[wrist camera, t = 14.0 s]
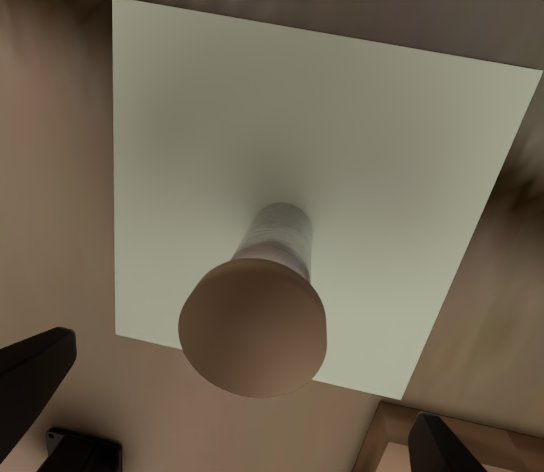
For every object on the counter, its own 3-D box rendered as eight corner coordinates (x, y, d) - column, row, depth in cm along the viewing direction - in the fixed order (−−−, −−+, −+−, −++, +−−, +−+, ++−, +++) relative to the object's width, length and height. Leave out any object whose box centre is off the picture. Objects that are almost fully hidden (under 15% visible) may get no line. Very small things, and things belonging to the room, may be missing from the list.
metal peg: (331, 201, 18) (343, 292, 9) (312, 275, 20) (308, 411, 11) (248, 185, 18) (183, 257, 9) (237, 259, 20) (173, 379, 11)
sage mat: (398, 394, 23) (400, 400, 22) (119, 329, 24) (115, 334, 23) (536, 72, 15) (543, 70, 15) (117, -1, 16) (112, -4, 16)
